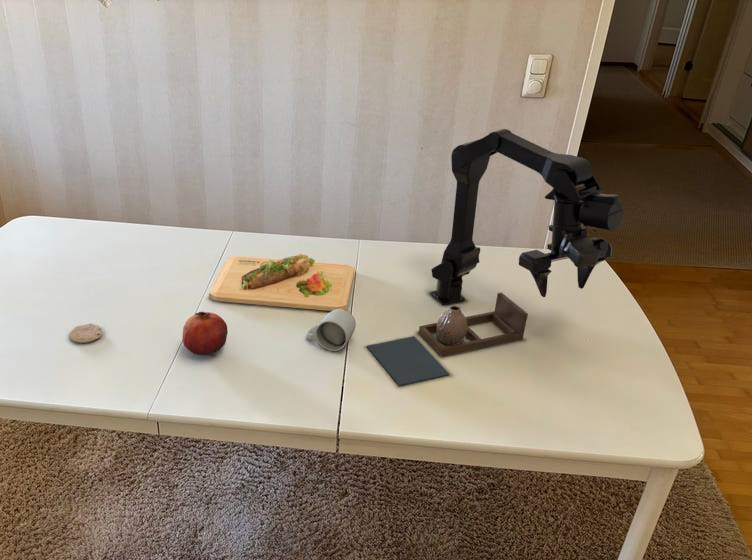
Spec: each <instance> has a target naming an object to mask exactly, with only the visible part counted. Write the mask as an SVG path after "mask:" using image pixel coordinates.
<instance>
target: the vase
mask: <svg viewBox="0 0 752 560" xmlns="http://www.w3.org/2000/svg"><path fill="white" fill-rule="evenodd" d="M466 317H467V316H465V314H464V313H463V312H462V308H461V307H460V306H459V305H450V306H449V307H448V309H447V310H445V311H444V312H443V313H442V314H441V315H440V316H439V317H438V319H437V322H436V323H437V327H436V331H437V332H436V336H437V338H438V340H440V342H441V343H443V344H444V345H446V346H450V345H455V344H460V343H462V342H463V340H465V338H466V334H467V329H468V327H469V326H468V323H467V319H466Z"/></svg>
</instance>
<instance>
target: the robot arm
mask: <svg viewBox="0 0 752 560" xmlns="http://www.w3.org/2000/svg"><path fill="white" fill-rule="evenodd" d="M497 153H498V154H500V155H502V156H503V157H506V158H508V159H509V160H512V161H514V162H516V163H518V164H520V165H522V166H524V167H526V168H528V169H530V170H531V171H534V172H536V173H538V174H539V175H540V176H541V177H542V178H543V180H544V182H545V183H546V184H547V185H549V186H550V187H551V188H552V189H551V191H549V192H548V193H547V194H545V195H544V199H546V200H550V201H553V215H552V224H549V225H548V231H550V232H551V243H547V246H546V249H547V250H549V251H550V252H546V253H545V252H542V251H540V250H539V249H533V250H528V251H524V252H522V253H521V254H520V255H519V257H518V266H520V267H522V268H524V269H526V270H528V271H529V273H530V275H531V277H532V278H533V280H534V282H535V285H536V286H537V289H538V292H539V294H540V296H541V297H543V298H546V296H547V291H548V277H549V275H550V274H551V273H552V270H551V269H550V268H551V267H552V263H553V262H557V261H563V260H567V259H569V260H570V261H571V262H572V263H573V265H574V266H575V267H576V271H577V274H576V275H577V285H578V288H579V289H581V290H583V289H584V287H585V285H586V284H587V282H588V279H589V278H590V276H591V274H592V272H593V270H594V269H595V267H596V266H597V265H599V264H600V263H601V262H605V261H606V260H607V259H606V258H610V257H611V256H612V252H613V247H612V245H611V243H610V242H609V241H608V240H607V239H606V238H605V237H599V238H598V237H596V236H595V237H594V236H593V237H591V238H590V237H589V238H588V230H587V227H588V228H589V227H590V228H593V229H599V230H604V231H611V232H614V231H616V230H618V228H619V227H620V225H622V222H623V220H624V216H625V209H624V205H623V203H622V202H621V201H620V197H621V196H620V195H619V194H613V193H612V194H607V193H602V192H603V188H602V187H601V185H600V183H599V181H598V179H597V177H596V176H595V174H594V172H593V170H592V166H591V162H590V161H589V160H588V159H586V158H584V157H580V156H578V155H574V154H573V155H572V154H567V153H558V152H557V153H556V152H553V151H551V150H549V149H547V148H545V147H542V146H541V145H538V144H537V143H534V142H532V141H529V140H527V139H526V138H524V137H521V136H519V135H517V134H515V133H513V132H512V131H511V130H510V129H507V128H501V129H497V130H495V131H492V132H489V134H487V135H485V136H483V137H482V138H479V139H475V140H473V141H469V142H466V143H462V144H459V145H457V146H456V147H454V148H453V150H452V151H451V157H450V159H451V160H450V161H451V172H452V174H453V176H454V179H455V181H456V188H455V198H454V207H453V217H452V228H451V236H450V237H451V238H450V241H449V242H448V244H447V246H446V247H445V249H444V250H443V254H442V259H441V261H440V263H439V264H437V265H436V266H434V267H433V268H431V270H430V271H431V277H432V278H433V279H435V280H437V281H436V288H435V289H436V290H432V291H430V295H431V296H432V297H433V298H434V299H435V300H437V301H438V302H439V303H440V304H441V305H443V306H445V305H451V304H456V303H461V302H465V301H466V298H465V297H464V296H463V295H462V290H463V283H464V282H463V281H464V279H463V277H464V276H467V275H469V274H470V273H471V271H473V270H475V268H476V267H477V265H478V264H480V262H481V261H480V253H481V247H479V246H476V244H475V242H474V240H473V236H474V227H475V219H476V211H477V204H478V203H477V202H478V196H479V195H478V193H479V185H480V181H481V179H482V178H483V176H484V175H485V174H486V171H487V169H488V167H489V162H490V158H491V157H492V156H493V155H496V154H497ZM581 187H584V188H581ZM578 188H581V189H578Z"/></svg>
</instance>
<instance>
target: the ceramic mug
mask: <svg viewBox="0 0 752 560" xmlns="http://www.w3.org/2000/svg"><path fill="white" fill-rule="evenodd" d="M356 324H357V323H356V318H355V316H354V315H353V313H351V312H350V311H348V310H347V309H335V310H333V311H329V312H328V313H327V314H326V316H325V317H324V318H323V319H321V321H320V322H319V323H318V324H317V325H315V326H313V327H311V328H310V329H309V330H307V333H306V336H307V338H308V339H309V341H316V342H317V343H318V344H319V346H321V347H322V348H323V349H325V350H327V351H330V352H338V351H340V350H342V349H343V348H344V347H345V346H347V344H348V342H349V341H350V339H351V337H352V336H353V334H354V332H355V330H356V326H357V325H356Z"/></svg>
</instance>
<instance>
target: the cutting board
mask: <svg viewBox="0 0 752 560" xmlns="http://www.w3.org/2000/svg"><path fill="white" fill-rule="evenodd" d="M354 275H355V267H354V266H352V265H349V264H346V263H332V262H320V261H315V259H313V258H312V257H309V255H308V254H307V255H306V254H302V253H299V254H296V255H292V256H287V257H284V258H282V259H281V258H268V257H255V256H254V257H253V256H241V255H235V256H231V257H227V258H226V260H225V262H224V264H223V266H222V267H221V269H220V272H219V274H218V276H217V277H216V279H215V281H214V283H213V285H212V287H211V289H210V290H209V292H208V298H210V299H211V300H214V301H215V302H225V303H237V304H247V305H258V306H259V305H260V306H269V307H270V306H271V307H282V308H283V307H284V308H285V307H286V308H292V309H293V308H294V309H304V310H305V309H306V310H317V311H318V310H319V311H327V312H328V311H329V312H331V311H333V310H335V309H345V310H347V309H348V303H349V300H350V294H351V290H352V285H353V280H354Z"/></svg>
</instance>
